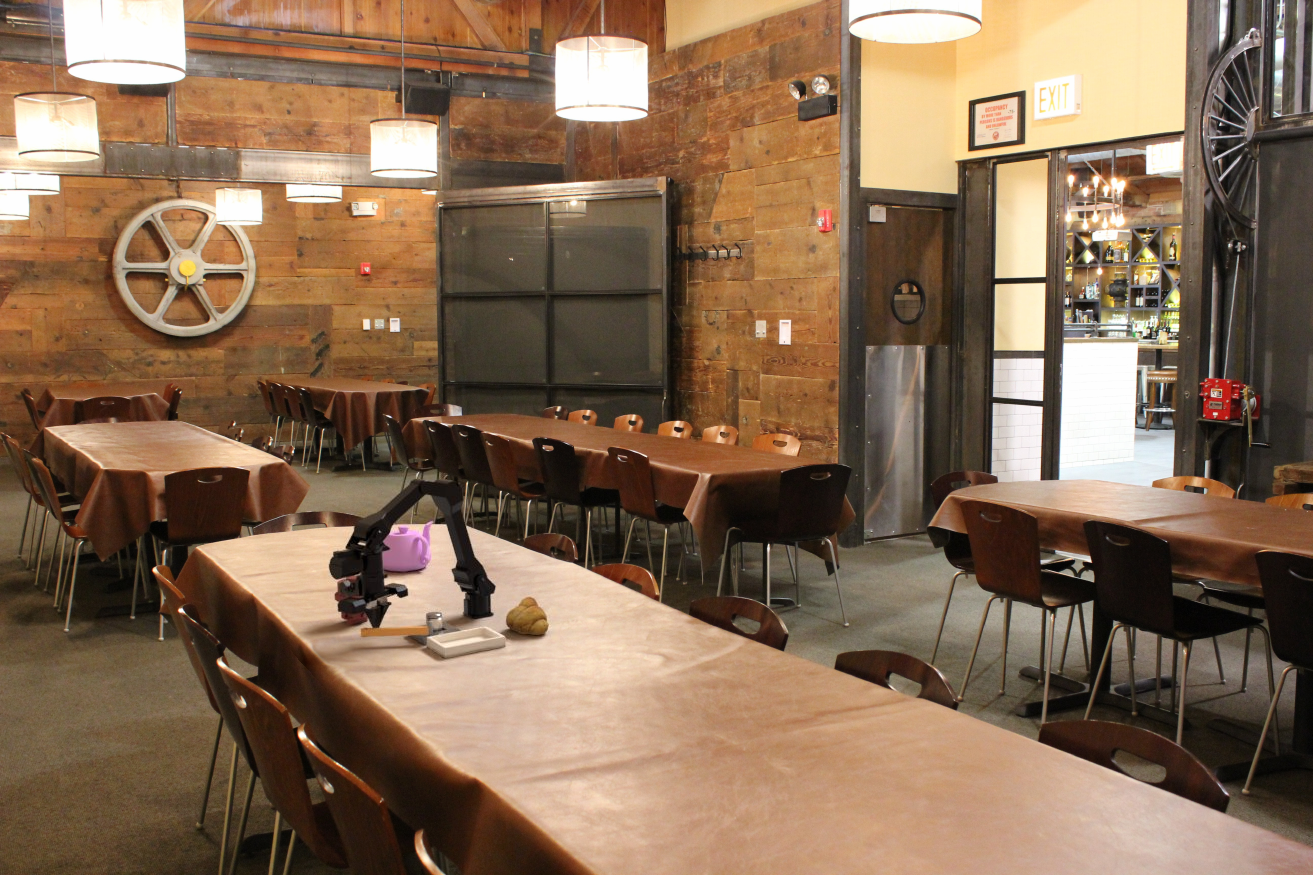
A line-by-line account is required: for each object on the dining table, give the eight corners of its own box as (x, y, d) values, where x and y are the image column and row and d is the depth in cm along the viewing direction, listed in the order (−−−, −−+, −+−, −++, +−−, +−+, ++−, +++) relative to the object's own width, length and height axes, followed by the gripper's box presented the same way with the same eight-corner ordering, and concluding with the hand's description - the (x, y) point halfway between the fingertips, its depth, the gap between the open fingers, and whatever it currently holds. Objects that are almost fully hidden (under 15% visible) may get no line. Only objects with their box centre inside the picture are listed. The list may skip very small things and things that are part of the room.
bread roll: (556, 634, 277) (556, 604, 276) (523, 641, 272) (522, 610, 271) (532, 623, 288) (532, 593, 287) (500, 629, 282) (499, 599, 281)
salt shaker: (438, 633, 278) (438, 610, 278) (445, 637, 275) (444, 614, 274) (424, 636, 276) (423, 613, 275) (430, 639, 273) (429, 616, 272)
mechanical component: (380, 617, 293) (363, 628, 283) (346, 616, 295) (328, 626, 285) (379, 573, 292) (361, 582, 282) (345, 571, 294) (326, 580, 284)
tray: (485, 635, 276) (485, 626, 276) (505, 646, 267) (505, 636, 267) (427, 646, 267) (426, 637, 267) (445, 658, 258) (445, 648, 258)
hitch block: (444, 628, 282) (444, 621, 282) (460, 637, 274) (460, 630, 274) (408, 635, 277) (408, 627, 276) (423, 644, 269) (423, 637, 268)
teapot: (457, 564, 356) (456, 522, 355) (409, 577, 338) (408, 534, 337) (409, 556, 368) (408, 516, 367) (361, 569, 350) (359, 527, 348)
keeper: (361, 635, 269) (361, 622, 269) (433, 632, 271) (433, 620, 271) (360, 637, 267) (359, 624, 267) (432, 635, 269) (432, 622, 269)
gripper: (376, 558, 280) (380, 617, 282) (320, 575, 264) (324, 637, 266) (407, 563, 274) (411, 622, 276) (351, 581, 259) (356, 643, 261)
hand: (375, 631), depth 270 cm, fingers closed
